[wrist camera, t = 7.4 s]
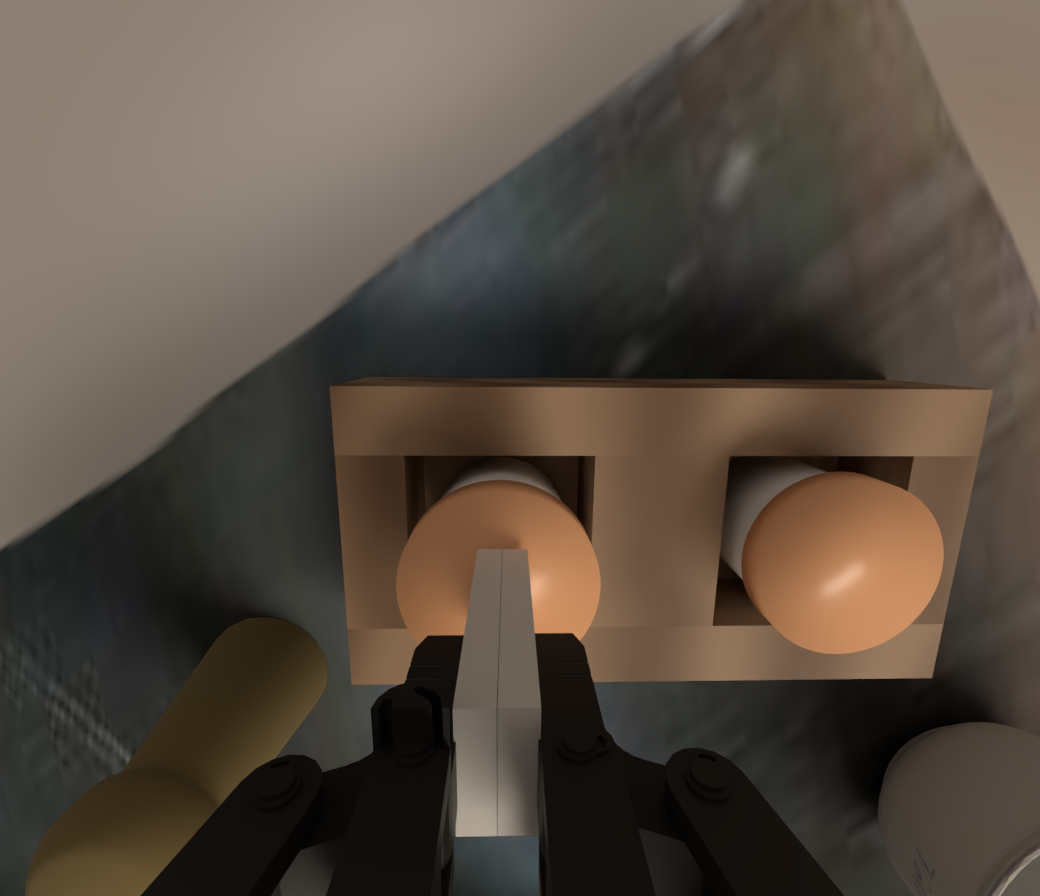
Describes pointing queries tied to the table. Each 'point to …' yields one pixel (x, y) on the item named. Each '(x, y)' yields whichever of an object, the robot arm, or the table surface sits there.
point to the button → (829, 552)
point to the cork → (185, 763)
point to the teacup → (964, 811)
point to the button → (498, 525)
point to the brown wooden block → (646, 502)
